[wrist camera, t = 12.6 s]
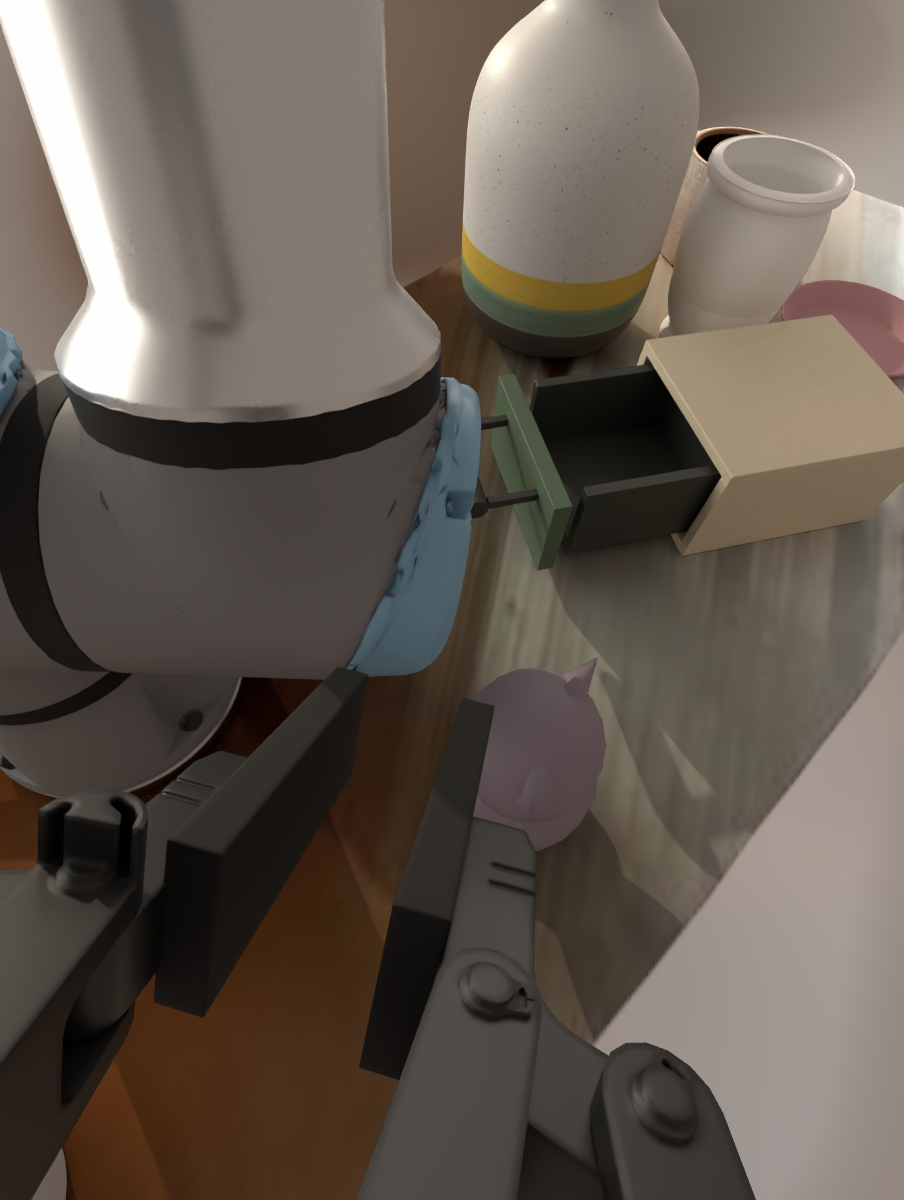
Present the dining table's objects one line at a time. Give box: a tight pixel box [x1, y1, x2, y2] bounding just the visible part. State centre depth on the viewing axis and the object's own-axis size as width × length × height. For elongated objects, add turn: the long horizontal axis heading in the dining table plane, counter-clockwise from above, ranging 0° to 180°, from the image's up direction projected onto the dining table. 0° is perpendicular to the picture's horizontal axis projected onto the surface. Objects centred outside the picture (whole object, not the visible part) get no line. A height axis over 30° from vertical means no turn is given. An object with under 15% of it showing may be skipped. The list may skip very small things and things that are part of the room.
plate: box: [781, 280, 904, 378], centre depth 57 cm, size 14×14×2 cm
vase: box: [462, 0, 699, 358], centre depth 47 cm, size 17×17×24 cm
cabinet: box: [637, 315, 904, 556], centre depth 45 cm, size 16×14×9 cm
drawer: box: [470, 364, 722, 570], centre depth 43 cm, size 20×12×7 cm, turn 104°
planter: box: [660, 127, 769, 266], centre depth 61 cm, size 11×11×10 cm
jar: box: [659, 135, 855, 338], centre depth 50 cm, size 11×10×15 cm
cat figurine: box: [473, 657, 606, 851], centre depth 30 cm, size 8×8×12 cm
